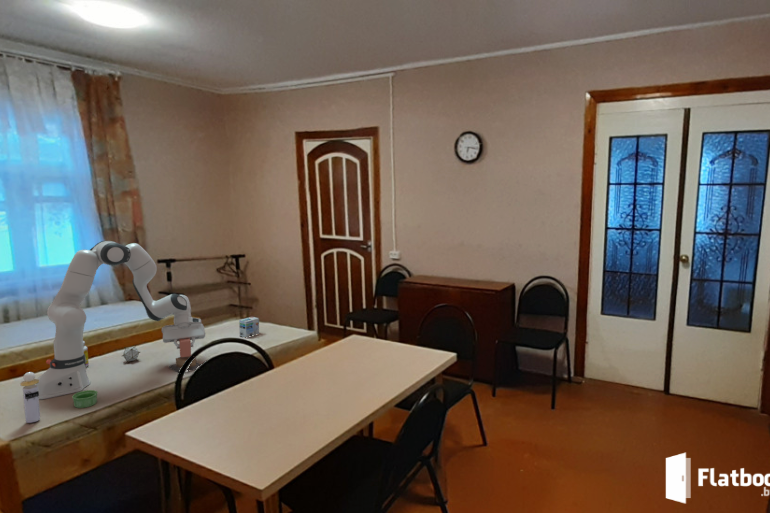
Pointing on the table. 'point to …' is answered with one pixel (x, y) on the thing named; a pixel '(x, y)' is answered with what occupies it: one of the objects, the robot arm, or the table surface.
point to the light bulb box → (249, 326)
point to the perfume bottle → (31, 397)
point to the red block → (185, 347)
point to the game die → (131, 354)
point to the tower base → (181, 361)
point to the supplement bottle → (85, 354)
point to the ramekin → (85, 398)
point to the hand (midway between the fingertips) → (185, 347)
